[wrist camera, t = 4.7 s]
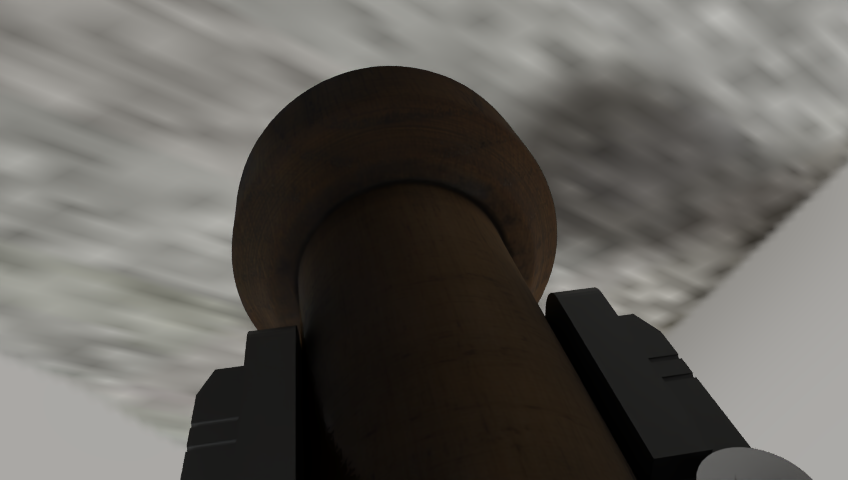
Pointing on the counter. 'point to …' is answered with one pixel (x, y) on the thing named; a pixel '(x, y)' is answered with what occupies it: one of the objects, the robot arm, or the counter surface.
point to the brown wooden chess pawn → (414, 286)
